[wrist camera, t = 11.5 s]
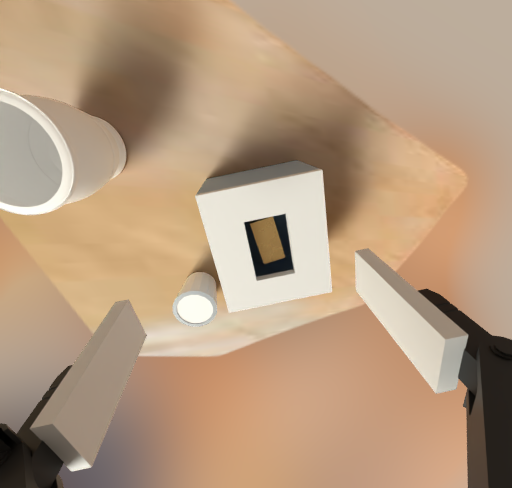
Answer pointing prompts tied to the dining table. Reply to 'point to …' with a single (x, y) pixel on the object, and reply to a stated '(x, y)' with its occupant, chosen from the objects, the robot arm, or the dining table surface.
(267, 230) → the wooden rectangular block
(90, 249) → the dining table surface
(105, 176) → the jar
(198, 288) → the white cylinder
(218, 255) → the box
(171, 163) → the dining table surface
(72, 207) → the dining table surface
